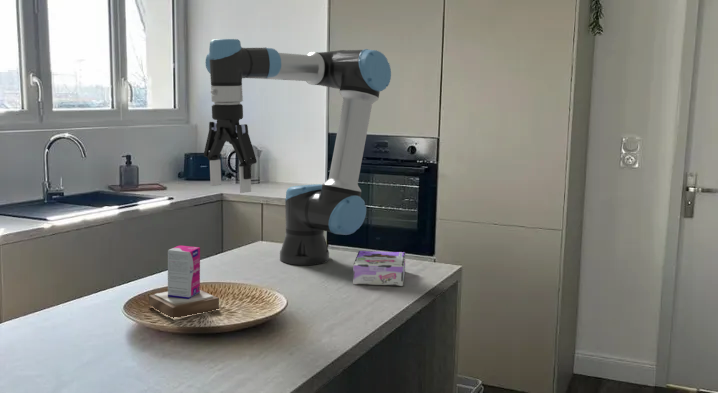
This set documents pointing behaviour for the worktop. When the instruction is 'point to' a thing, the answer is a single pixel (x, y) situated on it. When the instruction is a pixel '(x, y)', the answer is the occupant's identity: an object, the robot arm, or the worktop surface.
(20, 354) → the worktop surface
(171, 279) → the supplement box
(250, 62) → the robot arm
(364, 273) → the candy box
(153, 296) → the stand
